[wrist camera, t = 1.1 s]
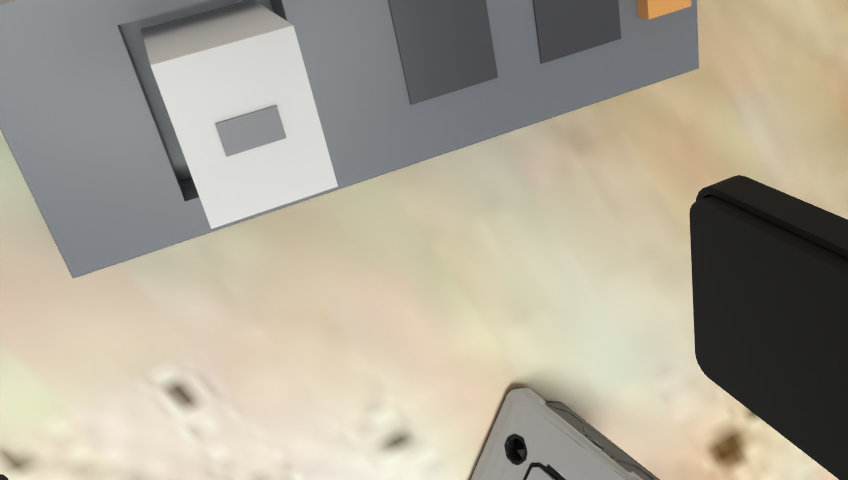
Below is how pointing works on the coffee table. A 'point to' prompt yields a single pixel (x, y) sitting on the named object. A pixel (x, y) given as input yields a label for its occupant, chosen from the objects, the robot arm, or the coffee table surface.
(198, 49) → the block
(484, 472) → the electrical switch
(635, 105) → the coffee table surface
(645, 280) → the coffee table surface
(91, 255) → the power strip
